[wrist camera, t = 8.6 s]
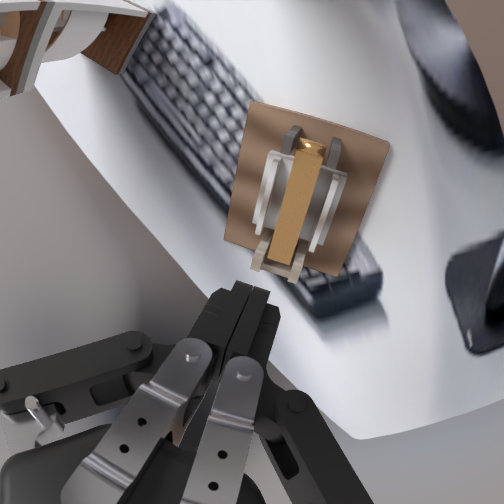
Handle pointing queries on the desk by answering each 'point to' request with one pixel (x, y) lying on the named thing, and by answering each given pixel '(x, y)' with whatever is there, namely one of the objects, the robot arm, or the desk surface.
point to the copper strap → (296, 199)
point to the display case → (65, 36)
